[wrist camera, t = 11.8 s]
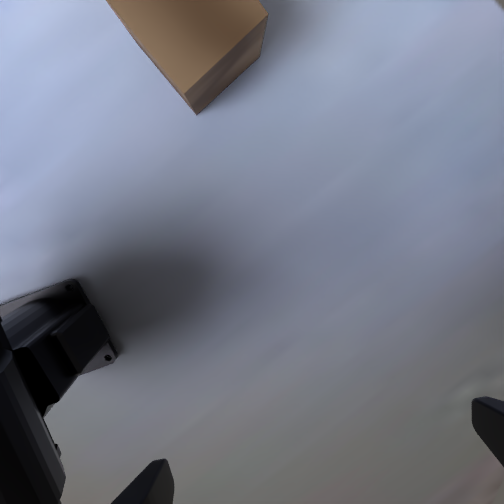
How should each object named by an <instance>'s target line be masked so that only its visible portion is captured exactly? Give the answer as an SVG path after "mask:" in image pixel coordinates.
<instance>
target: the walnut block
mask: <svg viewBox="0 0 504 504" xmlns="http://www.w3.org/2000/svg"><path fill="white" fill-rule="evenodd" d="M106 1H107V2H108V4H109V5H110V7H111V8H112V9H113V11H114V12H115V14H116V15H117V16H118V18H119V19H120V20H121V22H122V23H123V25H124V26H125V27H126V29H127V30H128V32H129V33H130V34H131V36H132V37H133V39H134V40H135V41H136V43H137V44H138V45H139V46H140V48H141V49H142V50H143V51H144V52H145V54H146V55H147V56H148V57H149V58H150V60H151V61H152V62H153V63H154V64H155V66H156V67H157V68H158V69H159V71H160V72H161V73H162V74H163V75H164V77H165V78H166V79H167V80H168V81H169V83H170V84H171V85H172V86H173V87H174V89H175V90H176V91H177V92H178V93H179V95H180V96H181V97H182V98H183V99H184V101H185V102H186V103H187V104H188V106H189V107H190V108H191V109H192V110H193V112H194V113H195V114H196V115H197V114H198V113H200V112H201V111H202V110H203V109H204V108H205V107H206V106H207V105H208V104H209V103H210V102H211V101H212V100H214V99H215V98H216V97H217V96H218V95H219V94H220V93H221V92H222V91H223V90H224V89H225V88H226V87H228V86H229V85H230V84H231V83H232V82H233V81H234V80H235V79H236V78H237V77H238V76H239V75H240V74H242V73H243V72H244V71H245V70H246V69H247V68H248V67H249V66H250V65H251V64H252V63H253V62H255V61H256V60H257V59H258V58H259V56H260V52H261V47H262V42H263V37H264V33H265V28H266V23H267V18H268V13H267V11H266V10H265V9H264V7H263V6H262V4H261V3H260V2H259V0H106Z"/></svg>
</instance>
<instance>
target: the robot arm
mask: <svg viewBox="0 0 504 504" xmlns="http://www.w3.org/2000/svg"><path fill="white" fill-rule="evenodd" d="M69 284H70V285H72V286H73V288H74V289H73V290H72V289H70V288H69V286H68V285H69ZM107 355H111V357H112V358H109V357H107ZM117 355H118V354H117V352H116V350H115V348H114V346H113V344H112V342H111V341H110V339H109V333H108V332H107V330H106V328H105V326H104V324H103V322H102V320H101V319H100V317H99V315H98V313H97V311H96V309H95V308H94V306H93V305H91V304H90V302H89V300H88V298H87V296H86V295H85V293H84V291H83V289H82V287H81V285H80V283H79V282H78V281H77V280H75V279H69V280H66V281H63V282H61V283H58V284H55V285H53V286H50V287H48V288H45V289H42V290H40V291H37V292H34V293H32V294H29V295H26V296H24V297H21V298H18V299H16V300H13V301H11V302H8V303H5V304H3V305H0V504H61V501H60V498H61V496H62V492H63V487H64V483H65V479H66V476H65V472H64V468H63V464H62V462H61V460H60V456H61V451H60V449H59V447H58V444H55V443H54V441H53V439H52V437H51V434H50V432H49V430H48V428H47V425H46V423H45V421H44V419H43V418H44V417H45V416H46V414H47V413H48V412H49V411H50V409H51V408H52V407H53V405H54V404H55V403H57V402H58V401H59V400H60V399H61V398H62V397H63V395H64V394H65V393H66V391H67V390H68V389H69V388H70V386H71V385H72V384H73V382H74V381H75V380H76V379H77V377H78V376H80V375H82V374H85V373H88V372H90V371H93V370H96V369H99V368H101V367H104V366H107V365H109V364H112V363H113V362H114V361H115V360H116V358H117ZM472 424H473V427H474V429H475V431H476V433H477V434H478V435H479V436H480V438H481V439H482V440H483V442H484V443H485V444H486V445H487V447H488V448H489V449H490V450H491V452H492V453H493V454H494V455H495V457H496V458H497V459H498V460H499V462H500V463H501V464H502V466H503V467H504V401H501V400H497V399H494V398H491V397H486V396H485V397H479V398H475V399H473V400H472ZM173 496H174V480H173V476H172V473H171V470H170V467H169V464H168V461H167V460H166V459H159V460H154V461H152V462H151V463H150V464H149V465H148V466H147V467H146V468H145V469H144V470H143V471H142V472H141V473H140V474H139V475H138V476H137V477H136V478H135V479H134V480H133V481H132V482H131V483H130V484H129V485H128V486H127V487H126V488H125V489H124V491H123V492H122V493H121V494H120V495H119V496H118V497H117V498H116V499H115V500H114V501H113V502H112V503H111V504H173Z"/></svg>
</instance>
